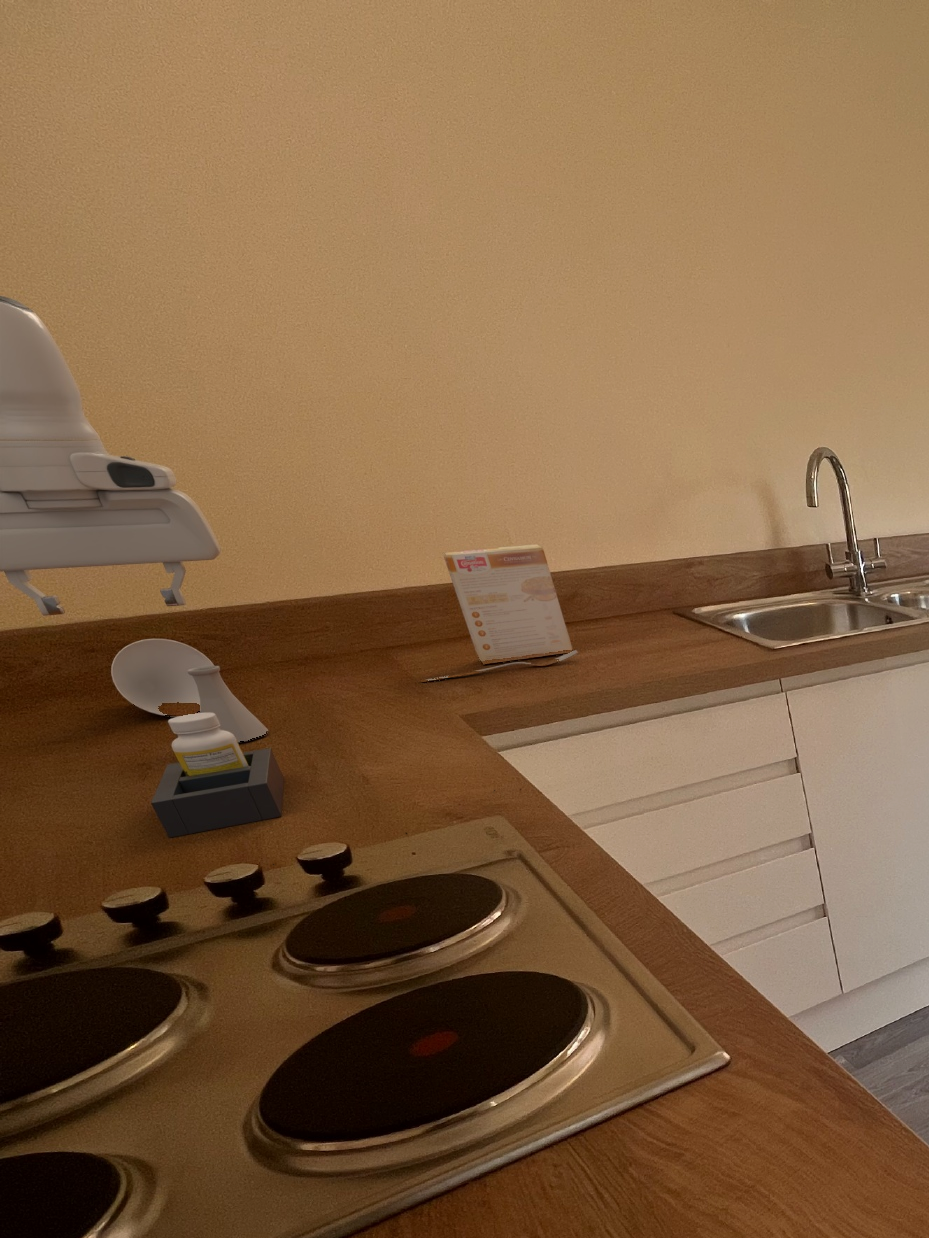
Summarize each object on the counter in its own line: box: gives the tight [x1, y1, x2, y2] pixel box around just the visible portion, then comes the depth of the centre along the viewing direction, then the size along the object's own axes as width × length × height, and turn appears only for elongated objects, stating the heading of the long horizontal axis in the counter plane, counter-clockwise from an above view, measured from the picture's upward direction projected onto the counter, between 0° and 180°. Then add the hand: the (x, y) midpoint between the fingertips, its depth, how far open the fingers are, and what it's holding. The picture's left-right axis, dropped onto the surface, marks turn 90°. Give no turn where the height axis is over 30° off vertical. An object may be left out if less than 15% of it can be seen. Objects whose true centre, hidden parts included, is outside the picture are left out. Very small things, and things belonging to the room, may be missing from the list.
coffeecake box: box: [442, 543, 574, 661], centre depth 176 cm, size 15×7×20 cm, turn 130°
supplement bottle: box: [167, 712, 249, 777], centre depth 110 cm, size 5×5×10 cm
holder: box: [150, 747, 285, 839], centre depth 108 cm, size 9×17×4 cm, turn 40°
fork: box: [426, 649, 579, 681], centre depth 169 cm, size 3×24×2 cm, turn 131°
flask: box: [187, 665, 269, 743], centre depth 131 cm, size 7×7×10 cm
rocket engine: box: [110, 638, 215, 717], centre depth 148 cm, size 12×12×18 cm
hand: (117, 609), depth 103 cm, fingers open, 8 cm apart
